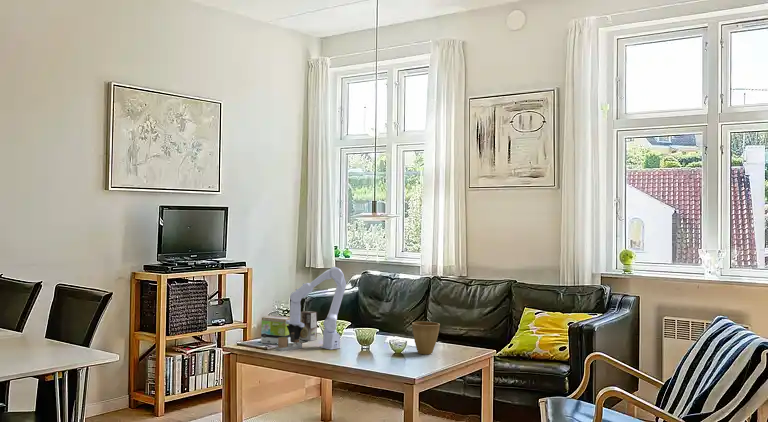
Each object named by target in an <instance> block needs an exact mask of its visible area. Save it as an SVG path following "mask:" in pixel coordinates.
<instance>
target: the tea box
mask: <svg viewBox="0 0 768 422" xmlns="http://www.w3.org/2000/svg"><path fill="white" fill-rule="evenodd" d="M286 320H290V316H282V315H270V314H269V315H266V316H263V317H261V325H260V326H261V330H260V333H261V334H260V335H261V336H260V343H261V344H270V343H278V337H287V338H288V343H289V342H291V341H290V339H291V338H290V334H289V330H288V328H287V326H288V325H289V324H286ZM291 343H292V342H291Z"/></svg>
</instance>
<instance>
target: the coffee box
mask: <svg viewBox="0 0 768 422" xmlns="http://www.w3.org/2000/svg"><path fill="white" fill-rule="evenodd" d="M300 322H302V323H304V327H303V329H302V331H301V333H300V336H299V340H300V339H301V340H303V341H309V342H310V341H315V340H317V338H318V311H311V310H310V311H309V310H302V311H301V314H300Z"/></svg>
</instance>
